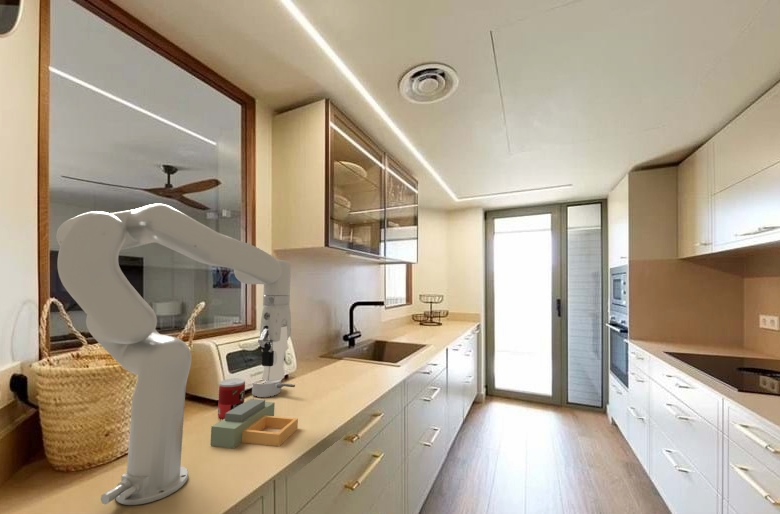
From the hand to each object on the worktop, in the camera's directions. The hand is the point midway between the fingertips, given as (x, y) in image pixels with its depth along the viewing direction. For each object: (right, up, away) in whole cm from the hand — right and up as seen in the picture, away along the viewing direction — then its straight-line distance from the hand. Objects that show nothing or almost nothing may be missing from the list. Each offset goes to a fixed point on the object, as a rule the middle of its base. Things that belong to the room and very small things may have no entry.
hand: (273, 362), depth 96 cm
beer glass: (0, -5, 0) cm, 5 cm away
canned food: (-18, -22, +12) cm, 31 cm away
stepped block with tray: (-4, -20, 0) cm, 21 cm away
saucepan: (-11, -23, +32) cm, 41 cm away
